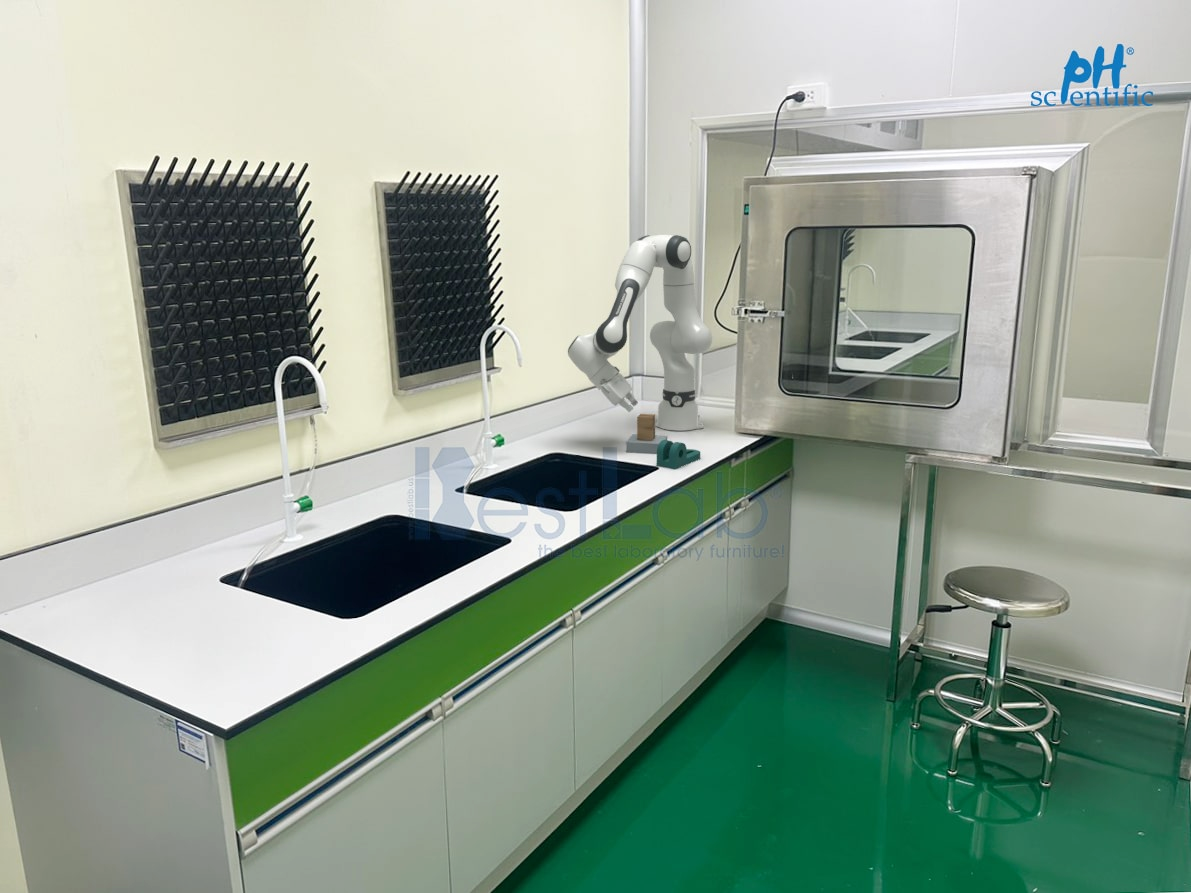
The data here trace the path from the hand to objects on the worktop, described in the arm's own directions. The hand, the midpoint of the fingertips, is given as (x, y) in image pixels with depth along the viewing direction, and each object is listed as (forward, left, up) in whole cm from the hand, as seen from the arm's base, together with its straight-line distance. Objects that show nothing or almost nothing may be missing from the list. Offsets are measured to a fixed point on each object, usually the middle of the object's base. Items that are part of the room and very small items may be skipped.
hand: (633, 407), depth 289 cm
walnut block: (0, +4, -10) cm, 11 cm away
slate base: (0, +5, -14) cm, 15 cm away
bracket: (+13, +18, -14) cm, 27 cm away
